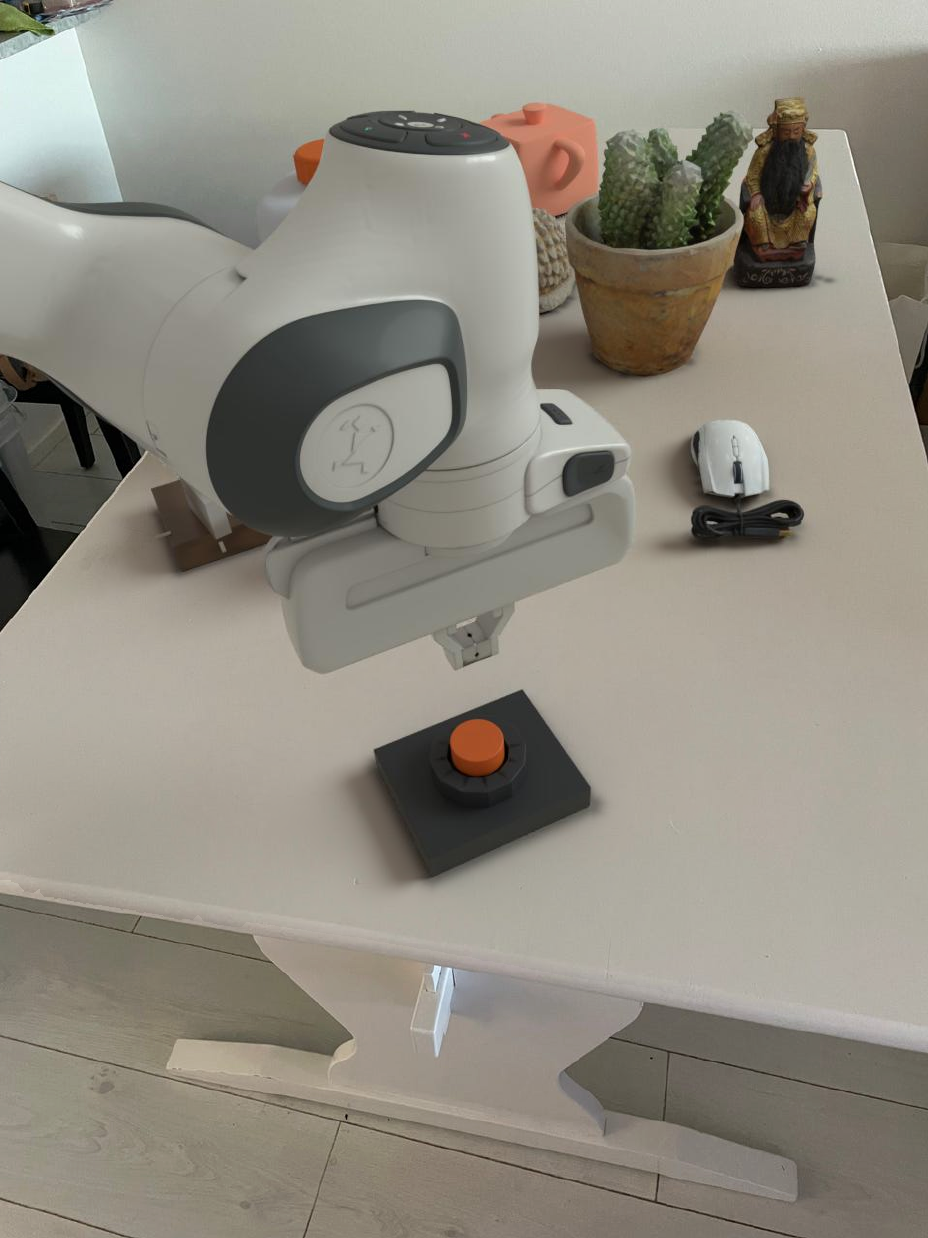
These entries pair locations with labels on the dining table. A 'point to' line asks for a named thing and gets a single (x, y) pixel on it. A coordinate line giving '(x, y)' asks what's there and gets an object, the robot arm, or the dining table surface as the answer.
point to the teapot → (552, 153)
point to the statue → (780, 203)
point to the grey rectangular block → (207, 511)
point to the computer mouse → (736, 484)
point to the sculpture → (551, 261)
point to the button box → (481, 784)
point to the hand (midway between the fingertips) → (471, 655)
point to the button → (477, 747)
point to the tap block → (199, 530)
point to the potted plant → (656, 244)
